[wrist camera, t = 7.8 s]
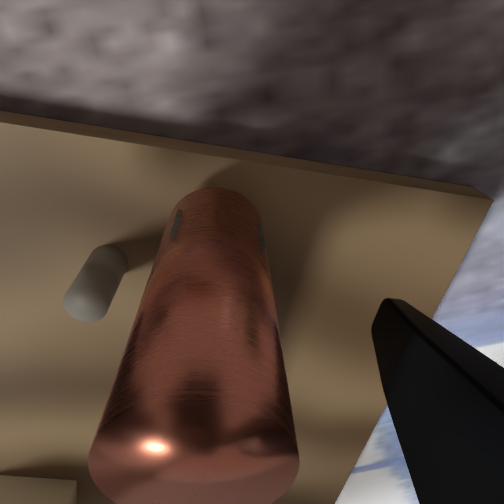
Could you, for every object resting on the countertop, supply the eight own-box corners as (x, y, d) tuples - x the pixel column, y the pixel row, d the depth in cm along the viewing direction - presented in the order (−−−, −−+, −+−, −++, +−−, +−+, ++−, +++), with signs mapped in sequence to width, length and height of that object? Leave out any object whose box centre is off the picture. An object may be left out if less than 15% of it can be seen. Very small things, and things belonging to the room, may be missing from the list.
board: (312, 516, 24) (324, 587, 21) (6, 504, 21) (-31, 581, 18) (472, 186, 13) (546, 234, 10) (-107, 92, 11) (-241, 117, 8)
